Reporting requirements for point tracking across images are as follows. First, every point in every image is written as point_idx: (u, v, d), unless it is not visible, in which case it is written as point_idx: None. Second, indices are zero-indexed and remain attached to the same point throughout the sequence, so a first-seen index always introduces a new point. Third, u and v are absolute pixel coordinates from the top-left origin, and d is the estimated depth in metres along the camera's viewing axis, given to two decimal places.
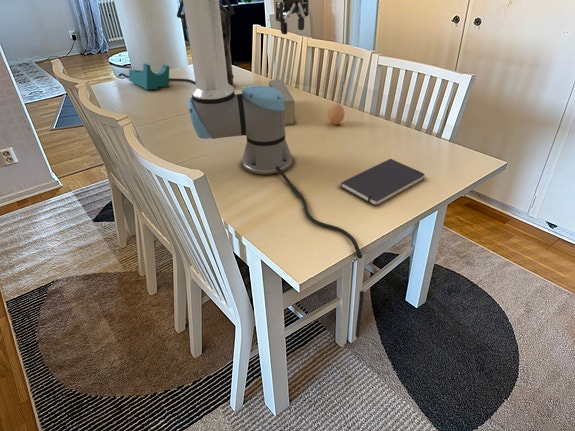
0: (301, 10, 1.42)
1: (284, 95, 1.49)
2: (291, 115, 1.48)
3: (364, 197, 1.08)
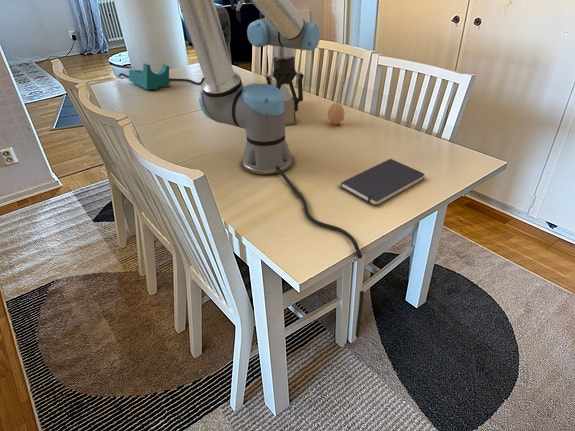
0: None
1: (284, 95, 1.49)
2: (291, 115, 1.48)
3: (364, 197, 1.08)
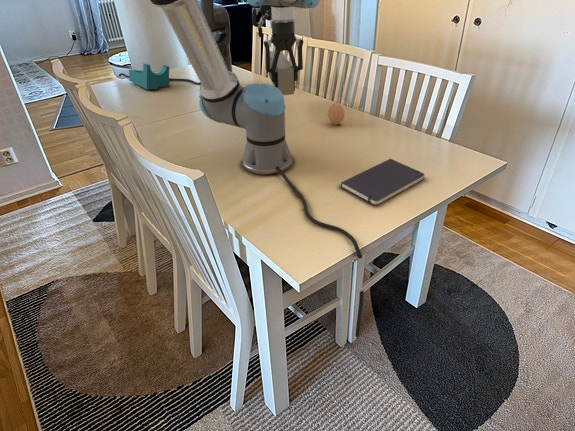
0: None
1: (283, 64, 1.43)
2: (290, 85, 1.42)
3: (364, 197, 1.08)
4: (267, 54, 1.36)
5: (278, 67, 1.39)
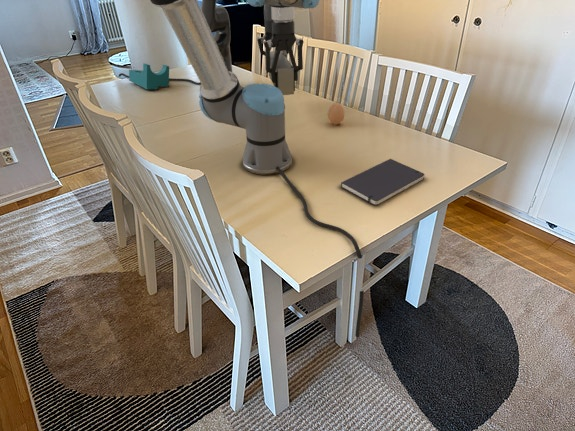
0: None
1: (283, 64, 1.43)
2: (290, 85, 1.42)
3: (364, 197, 1.08)
4: (267, 54, 1.36)
5: (278, 67, 1.39)
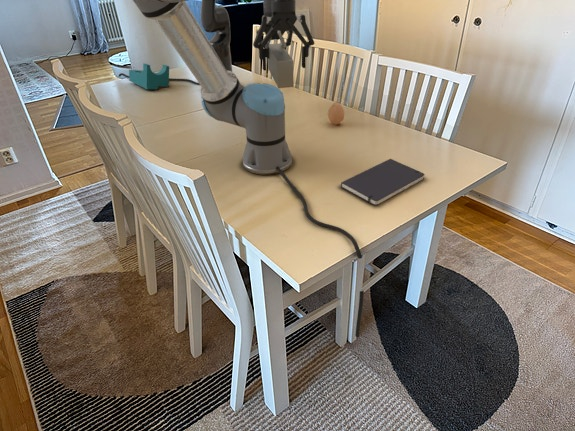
0: (281, 38, 1.51)
1: (283, 56, 1.41)
2: (290, 77, 1.40)
3: (364, 197, 1.08)
4: (261, 29, 1.28)
5: (278, 59, 1.38)
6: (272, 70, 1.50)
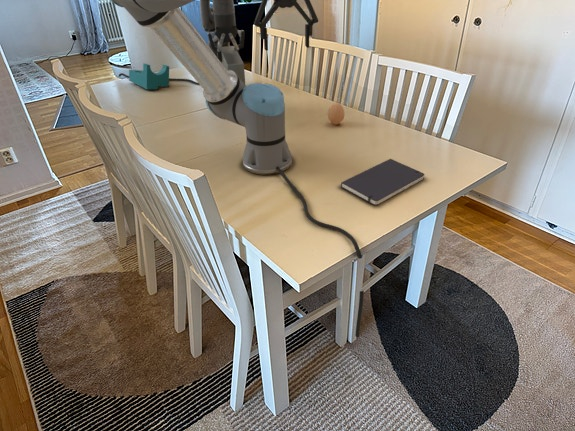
0: (233, 41, 1.49)
1: (234, 59, 1.39)
2: (242, 81, 1.39)
3: (364, 197, 1.08)
4: (262, 6, 1.22)
5: (228, 63, 1.36)
6: None
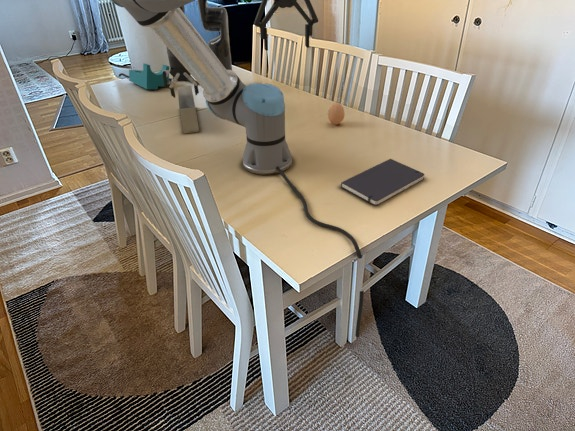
0: (189, 79, 1.55)
1: (187, 102, 1.45)
2: (194, 123, 1.45)
3: (364, 197, 1.08)
4: (262, 6, 1.22)
5: (180, 107, 1.42)
6: None
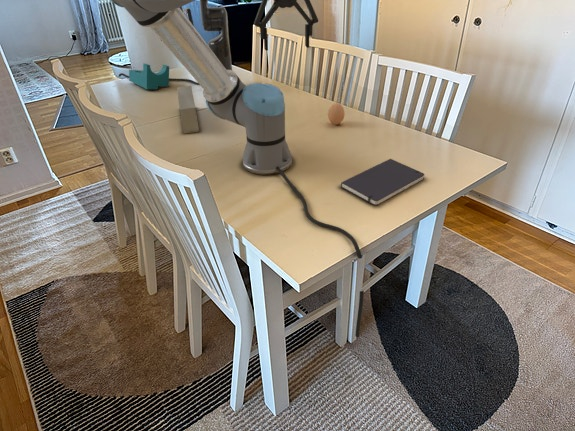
0: None
1: (187, 102, 1.45)
2: (194, 123, 1.45)
3: (364, 197, 1.08)
4: (262, 6, 1.22)
5: (180, 107, 1.42)
6: None
